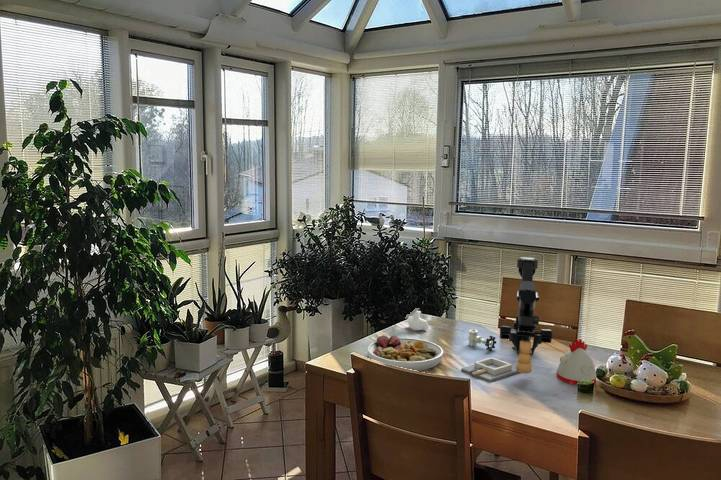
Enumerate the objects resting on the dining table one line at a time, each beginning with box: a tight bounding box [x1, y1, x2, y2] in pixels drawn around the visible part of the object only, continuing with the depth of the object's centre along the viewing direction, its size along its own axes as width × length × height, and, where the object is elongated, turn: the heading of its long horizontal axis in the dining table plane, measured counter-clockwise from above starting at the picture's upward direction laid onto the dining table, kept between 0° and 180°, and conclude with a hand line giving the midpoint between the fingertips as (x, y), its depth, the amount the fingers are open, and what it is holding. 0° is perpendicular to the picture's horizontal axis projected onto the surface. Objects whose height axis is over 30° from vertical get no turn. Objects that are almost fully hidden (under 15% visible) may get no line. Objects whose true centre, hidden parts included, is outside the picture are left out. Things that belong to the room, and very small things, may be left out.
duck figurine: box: [406, 309, 429, 331], centre depth 282 cm, size 12×8×11 cm
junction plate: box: [460, 356, 520, 383], centre depth 230 cm, size 21×14×3 cm, turn 127°
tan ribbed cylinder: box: [516, 341, 533, 374], centre depth 222 cm, size 5×5×11 cm
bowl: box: [367, 334, 444, 372], centre depth 240 cm, size 30×30×8 cm
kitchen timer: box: [556, 338, 597, 386], centre depth 223 cm, size 14×14×15 cm
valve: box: [467, 329, 497, 352], centre depth 258 cm, size 7×7×12 cm
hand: (524, 354), depth 220 cm, fingers closed on tan ribbed cylinder, 5 cm apart
